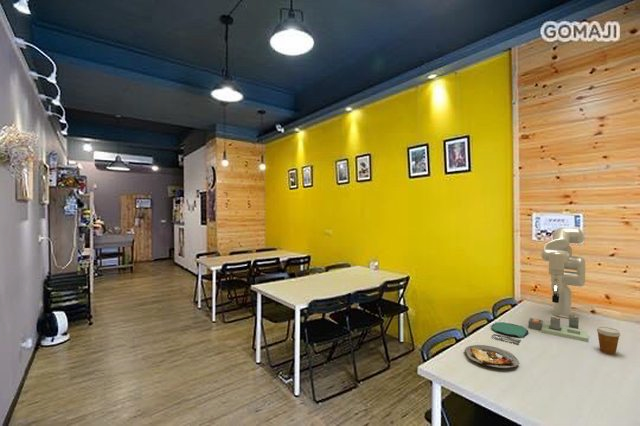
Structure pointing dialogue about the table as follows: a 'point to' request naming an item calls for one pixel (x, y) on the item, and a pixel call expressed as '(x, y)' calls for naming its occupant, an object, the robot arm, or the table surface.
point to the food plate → (491, 356)
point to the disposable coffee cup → (608, 339)
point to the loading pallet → (563, 332)
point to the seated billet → (555, 323)
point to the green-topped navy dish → (509, 331)
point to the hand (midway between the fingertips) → (555, 300)
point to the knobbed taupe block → (573, 321)
